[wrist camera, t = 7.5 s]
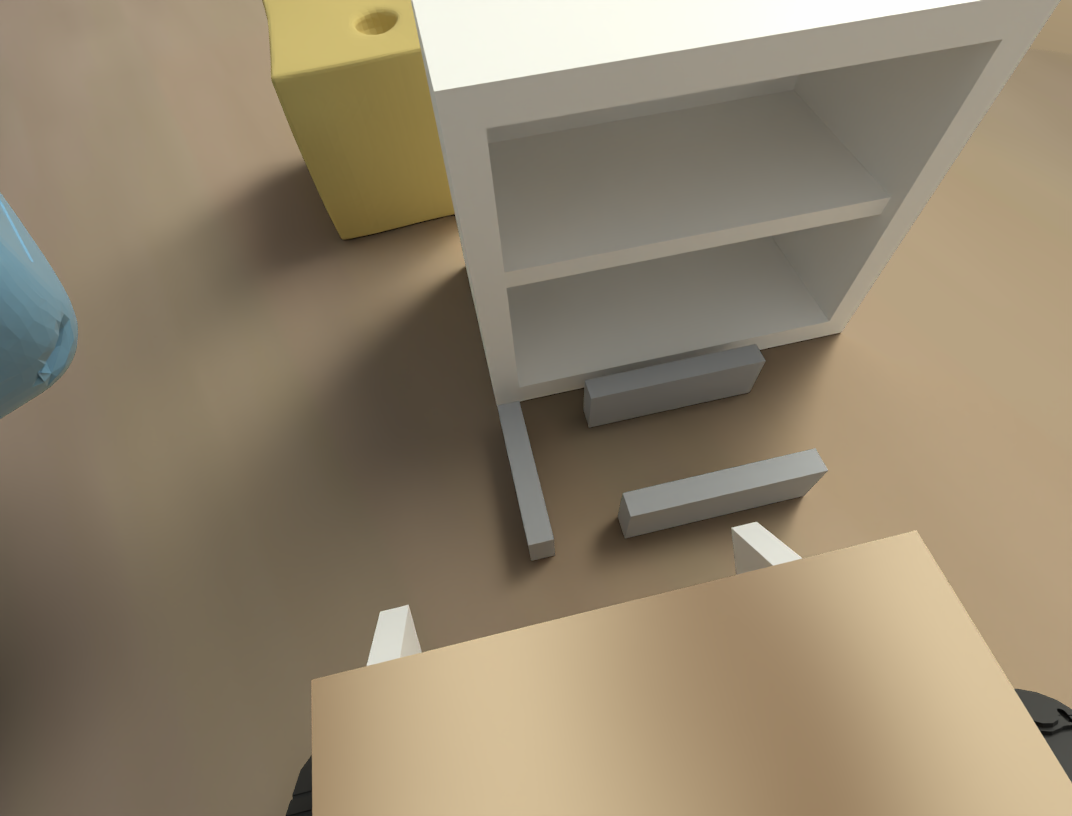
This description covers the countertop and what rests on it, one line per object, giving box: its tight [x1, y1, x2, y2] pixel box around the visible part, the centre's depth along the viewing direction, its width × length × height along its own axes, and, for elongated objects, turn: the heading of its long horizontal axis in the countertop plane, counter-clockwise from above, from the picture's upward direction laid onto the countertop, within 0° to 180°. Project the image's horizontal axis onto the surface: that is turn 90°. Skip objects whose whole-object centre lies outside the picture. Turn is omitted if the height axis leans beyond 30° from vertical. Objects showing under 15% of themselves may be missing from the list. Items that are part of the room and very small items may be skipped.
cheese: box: [262, 0, 455, 239], centre depth 32 cm, size 10×11×10 cm
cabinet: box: [411, 0, 1061, 561], centre depth 22 cm, size 18×18×15 cm
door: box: [311, 530, 1072, 816], centre depth 12 cm, size 9×4×12 cm, turn 103°
